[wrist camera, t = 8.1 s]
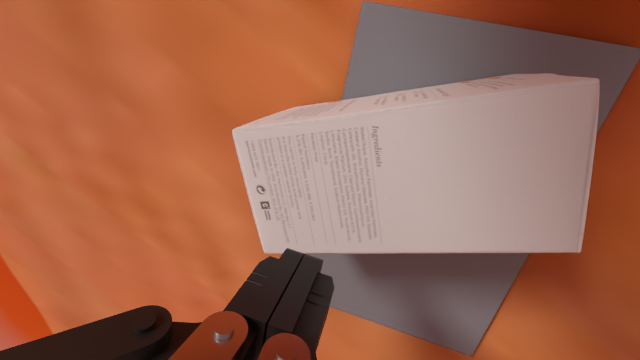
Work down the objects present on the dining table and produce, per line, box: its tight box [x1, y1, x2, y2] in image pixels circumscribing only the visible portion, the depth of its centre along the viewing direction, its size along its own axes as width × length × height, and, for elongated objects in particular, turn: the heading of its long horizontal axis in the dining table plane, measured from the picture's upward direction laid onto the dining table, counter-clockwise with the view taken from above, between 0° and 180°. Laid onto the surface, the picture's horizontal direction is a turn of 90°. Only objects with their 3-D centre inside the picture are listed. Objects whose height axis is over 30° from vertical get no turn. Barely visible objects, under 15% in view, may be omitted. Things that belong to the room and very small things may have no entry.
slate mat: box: [309, 1, 640, 356], centre depth 20 cm, size 22×14×1 cm, turn 169°
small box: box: [232, 73, 600, 254], centre depth 15 cm, size 8×6×13 cm
